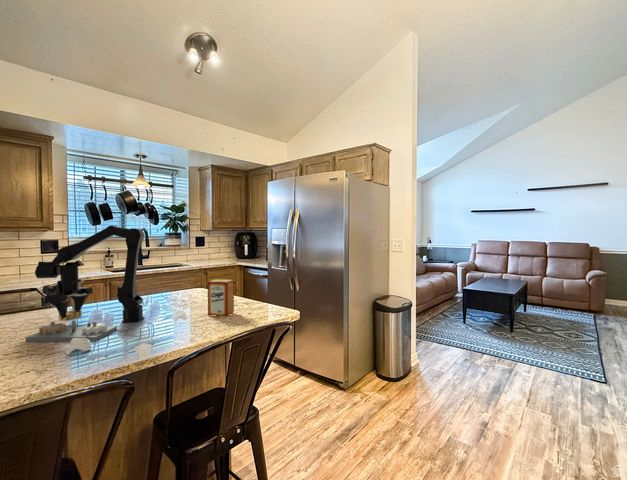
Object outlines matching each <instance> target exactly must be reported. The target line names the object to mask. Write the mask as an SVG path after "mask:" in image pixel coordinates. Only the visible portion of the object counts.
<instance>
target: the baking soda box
mask: <svg viewBox="0 0 627 480" xmlns="http://www.w3.org/2000/svg"><path fill="white" fill-rule="evenodd" d="M234 283H235V281H234V279H213V280H212V279H211V280H209V281H207V316H208V315H216V316H215V317H219V316H228V315H230V314H232V313H233V312H234V313H235V310H234V309H235V302H234V301H235V299H234V297H235V296H234V295H235V290H234V285H235V284H234ZM234 313H233V314H234ZM233 314H232V315H233ZM230 316H231V315H230ZM228 317H229V316H228Z"/></svg>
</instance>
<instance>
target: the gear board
mask: <svg viewBox="0 0 627 480" xmlns="http://www.w3.org/2000/svg"><path fill="white" fill-rule="evenodd" d="M76 320H77V319H72V320H71V326H66V323H62V322H60V323H59V322H58V323H56V322H55V321H50V323H49V324H47V325H42V326H41V327H39V329H38V331H39V332H37V333H33V334H31V335H27V336H25V342H28V343H30V342H32V343H33V342H39V343H41V342H71V340H72V339H73V338H86V339H88V340H90V342H97V341H99V340H101V339H102V338H104V337H106V336H109V335H111V334H112V333H114V332H116V331H118V325H113V326H109V325H107V324H108V323H103V322H99V323H97V321H96V320H95V321H92V323H91V322H87V325H84V326H79V325H78V326H77V323H76V322H77V321H76Z"/></svg>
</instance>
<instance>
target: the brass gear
mask: <svg viewBox="0 0 627 480" xmlns="http://www.w3.org/2000/svg"><path fill="white" fill-rule="evenodd" d="M82 316H83V315H82V309H81V310H72V309H71V310H67V313H66V316H65V318H61V316H60V314H59V313H58V320H59V321H73V320H77V319H79V318H82Z"/></svg>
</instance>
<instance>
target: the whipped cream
mask: <svg viewBox="0 0 627 480" xmlns="http://www.w3.org/2000/svg"><path fill="white" fill-rule="evenodd" d="M69 342H70V345H67V348H66V352H65V354H66V356H69V355H71V353H72V352H73V351H75V350H78V351H82V352H88V351H91V350H92V341H90V340H88V339H86V338H73V339H72V340H71V341H69Z"/></svg>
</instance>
